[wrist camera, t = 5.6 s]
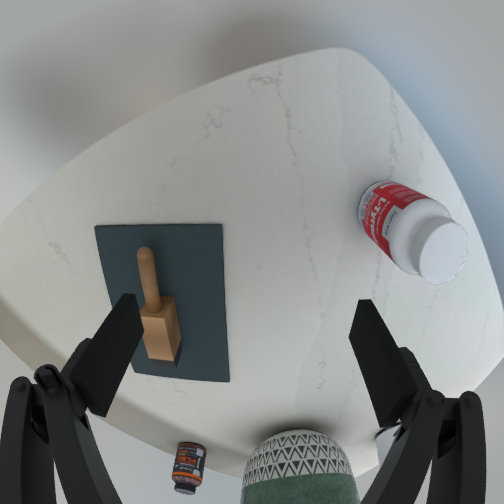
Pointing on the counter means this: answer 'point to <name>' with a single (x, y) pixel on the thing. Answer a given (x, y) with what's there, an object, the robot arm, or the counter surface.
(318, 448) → the planter
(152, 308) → the scrub brush
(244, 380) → the counter surface
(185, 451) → the supplement bottle
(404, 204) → the pill bottle
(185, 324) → the mat
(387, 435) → the cup
